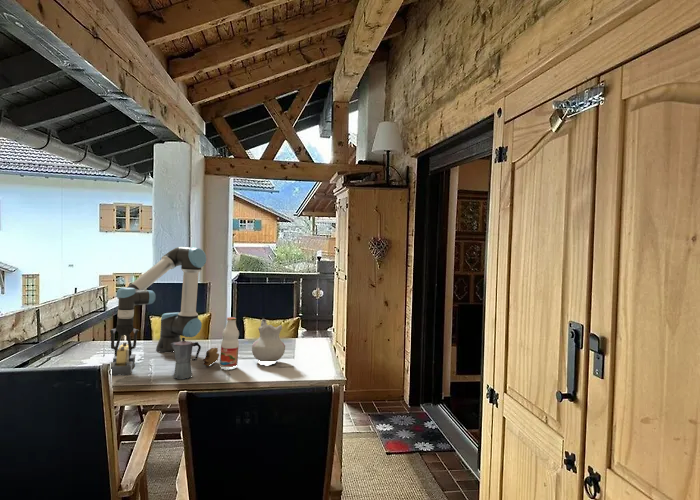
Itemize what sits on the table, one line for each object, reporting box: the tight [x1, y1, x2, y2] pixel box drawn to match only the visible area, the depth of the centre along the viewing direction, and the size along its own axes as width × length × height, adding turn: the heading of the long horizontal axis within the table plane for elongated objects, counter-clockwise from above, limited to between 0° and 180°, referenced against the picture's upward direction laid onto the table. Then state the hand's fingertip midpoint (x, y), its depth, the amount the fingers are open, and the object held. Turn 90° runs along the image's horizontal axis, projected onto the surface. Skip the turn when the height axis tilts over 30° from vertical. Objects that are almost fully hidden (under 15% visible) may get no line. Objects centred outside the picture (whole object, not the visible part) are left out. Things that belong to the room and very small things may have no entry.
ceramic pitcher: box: [251, 318, 286, 361], centre depth 257 cm, size 22×20×25 cm
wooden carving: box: [202, 347, 220, 367], centre depth 244 cm, size 16×5×10 cm, turn 178°
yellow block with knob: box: [116, 341, 129, 366], centre depth 228 cm, size 15×4×10 cm, turn 21°
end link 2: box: [109, 361, 133, 377], centre depth 221 cm, size 8×10×4 cm
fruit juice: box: [219, 316, 240, 367], centre depth 242 cm, size 9×9×28 cm
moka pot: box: [170, 337, 202, 380], centre depth 221 cm, size 10×15×20 cm, turn 95°
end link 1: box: [112, 353, 136, 367], centre depth 235 cm, size 8×10×4 cm
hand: (122, 361), depth 228 cm, fingers closed on yellow block with knob, 4 cm apart
